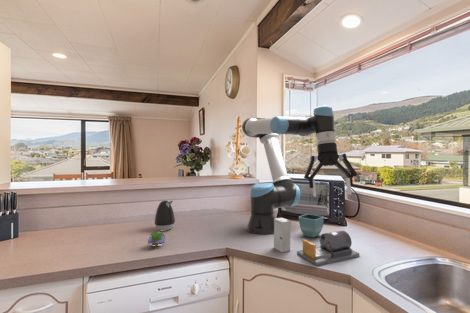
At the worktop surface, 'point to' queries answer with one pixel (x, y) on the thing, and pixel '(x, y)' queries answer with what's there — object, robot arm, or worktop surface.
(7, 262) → the worktop surface
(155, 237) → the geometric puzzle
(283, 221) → the skincare box
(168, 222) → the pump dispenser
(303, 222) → the flower pot
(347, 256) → the motor
